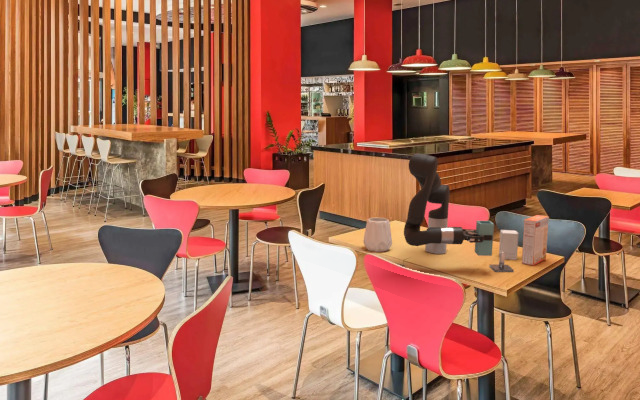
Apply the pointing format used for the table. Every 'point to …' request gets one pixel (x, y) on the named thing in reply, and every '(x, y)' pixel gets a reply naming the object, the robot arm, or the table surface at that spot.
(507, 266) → the plate
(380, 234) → the vase
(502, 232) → the supplement box
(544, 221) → the cracker box
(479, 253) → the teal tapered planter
